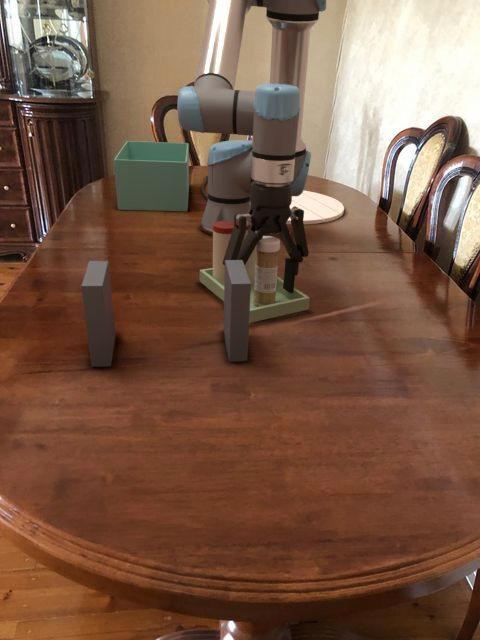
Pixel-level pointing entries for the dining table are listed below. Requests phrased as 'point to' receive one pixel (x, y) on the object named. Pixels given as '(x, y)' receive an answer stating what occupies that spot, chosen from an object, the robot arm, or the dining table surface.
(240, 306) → the grey upright slab
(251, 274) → the spice bottle
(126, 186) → the box
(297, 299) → the tray
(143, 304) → the dining table surface
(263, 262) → the sprinkles bottle
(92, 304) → the grey book front
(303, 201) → the lazy susan
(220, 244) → the spice bottle
